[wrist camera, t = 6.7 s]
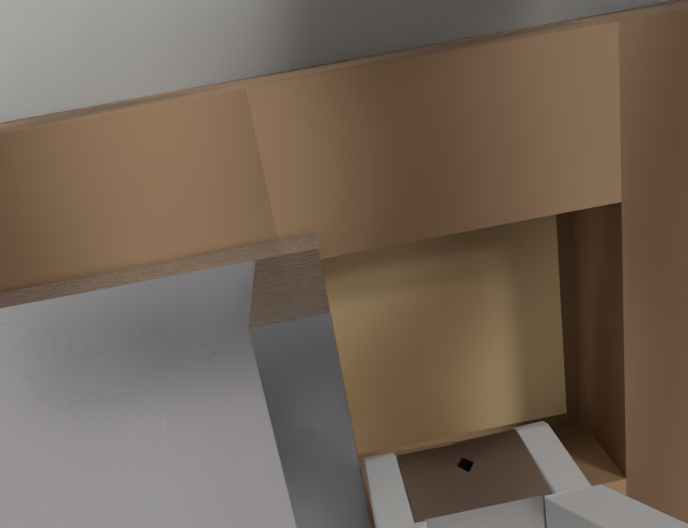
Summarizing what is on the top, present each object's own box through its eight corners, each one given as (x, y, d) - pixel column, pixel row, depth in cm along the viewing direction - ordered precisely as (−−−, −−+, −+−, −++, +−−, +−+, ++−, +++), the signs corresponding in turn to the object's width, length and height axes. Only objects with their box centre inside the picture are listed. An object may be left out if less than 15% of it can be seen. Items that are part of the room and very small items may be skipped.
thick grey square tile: (316, 233, 11) (329, 313, 8) (377, 553, 13) (405, 710, 10) (-101, 312, 11) (-256, 425, 8) (38, 621, 13) (-36, 802, 10)
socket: (701, -4, 13) (799, -12, 10) (689, 485, 17) (757, 560, 15) (-216, 162, 12) (-339, 194, 10) (4, 623, 16) (-44, 726, 14)
